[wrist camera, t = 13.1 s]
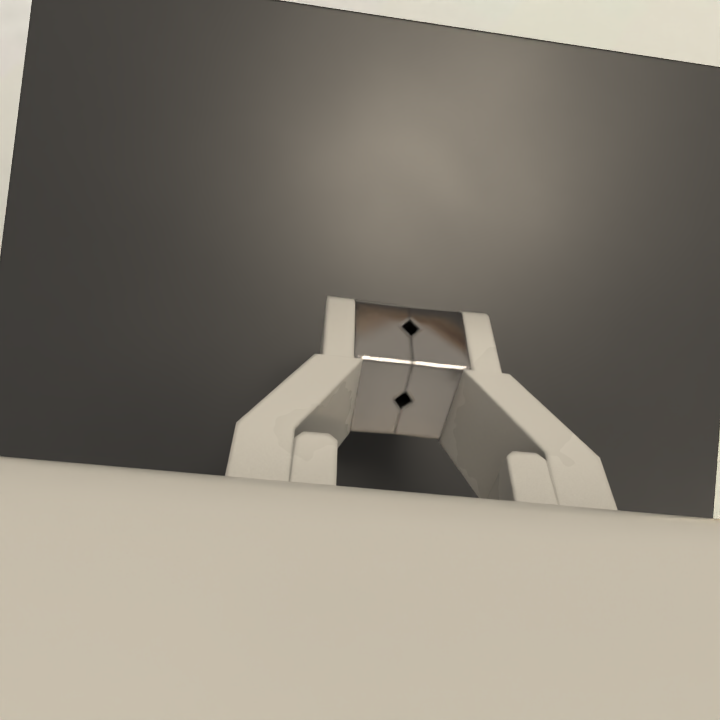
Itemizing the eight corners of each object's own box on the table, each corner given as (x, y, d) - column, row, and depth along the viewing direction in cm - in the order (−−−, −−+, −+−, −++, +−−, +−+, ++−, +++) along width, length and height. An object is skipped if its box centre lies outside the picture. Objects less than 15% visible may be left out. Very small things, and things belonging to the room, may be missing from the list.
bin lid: (50, -15, 15) (35, -39, 15) (724, 86, 17) (748, 69, 16) (-28, 620, 15) (-49, 635, 14) (680, 664, 16) (702, 681, 15)
